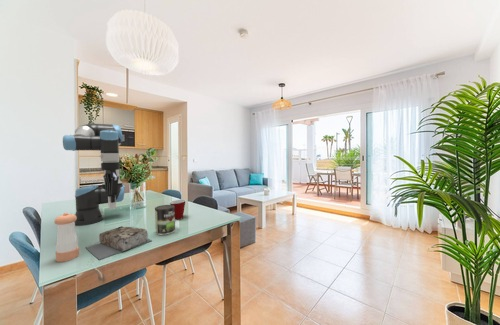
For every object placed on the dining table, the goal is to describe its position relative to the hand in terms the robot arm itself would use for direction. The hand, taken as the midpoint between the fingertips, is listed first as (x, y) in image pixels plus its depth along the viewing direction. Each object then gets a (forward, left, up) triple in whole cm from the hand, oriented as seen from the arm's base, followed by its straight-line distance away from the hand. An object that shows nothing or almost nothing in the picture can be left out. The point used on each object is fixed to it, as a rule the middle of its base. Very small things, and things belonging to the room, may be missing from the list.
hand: (112, 208), depth 100 cm
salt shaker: (+3, -18, -17) cm, 25 cm away
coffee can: (+11, +22, -17) cm, 30 cm away
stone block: (-3, +1, -14) cm, 14 cm away
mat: (+8, 0, -17) cm, 18 cm away
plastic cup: (-4, +40, -17) cm, 44 cm away
